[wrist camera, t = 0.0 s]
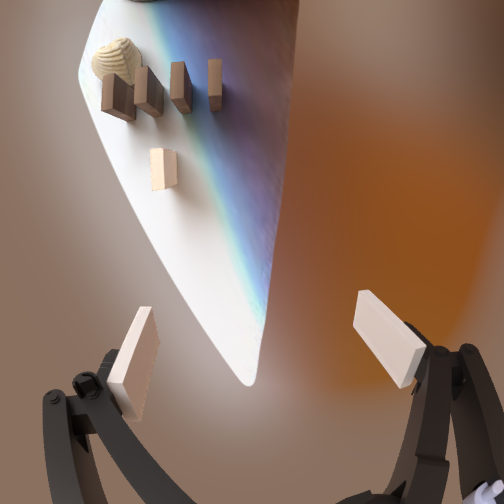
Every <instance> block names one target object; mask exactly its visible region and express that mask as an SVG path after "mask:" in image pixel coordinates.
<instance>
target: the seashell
mask: <svg viewBox="0 0 504 504" xmlns="http://www.w3.org/2000/svg"><path fill="white" fill-rule="evenodd" d="M141 64H142V58H141V54H140V52H139V50H138V49H137V47H136V46H135V45H134V44H133V42H132V41H131V40H130V39H129V38H126V37H122V38H118V39H116V40H114V41H113V42H112V43H110V44H109V45H107V46H106V47H101V48H99V49H98V50H97V52H96V53H95V55H94V56H93V59H92V69H93V72H94V73H95V75H96V76H97V77H98V78H99V79H101V80H102V81H103V75H107V74H111V73H115V74H117V75H118V76H119V77H120V78H121V79H123V80H124V81H125V82H126V83H127V84H129V85H130V86H133V85H134V84H135V71H136V68H140V67H141Z"/></svg>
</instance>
